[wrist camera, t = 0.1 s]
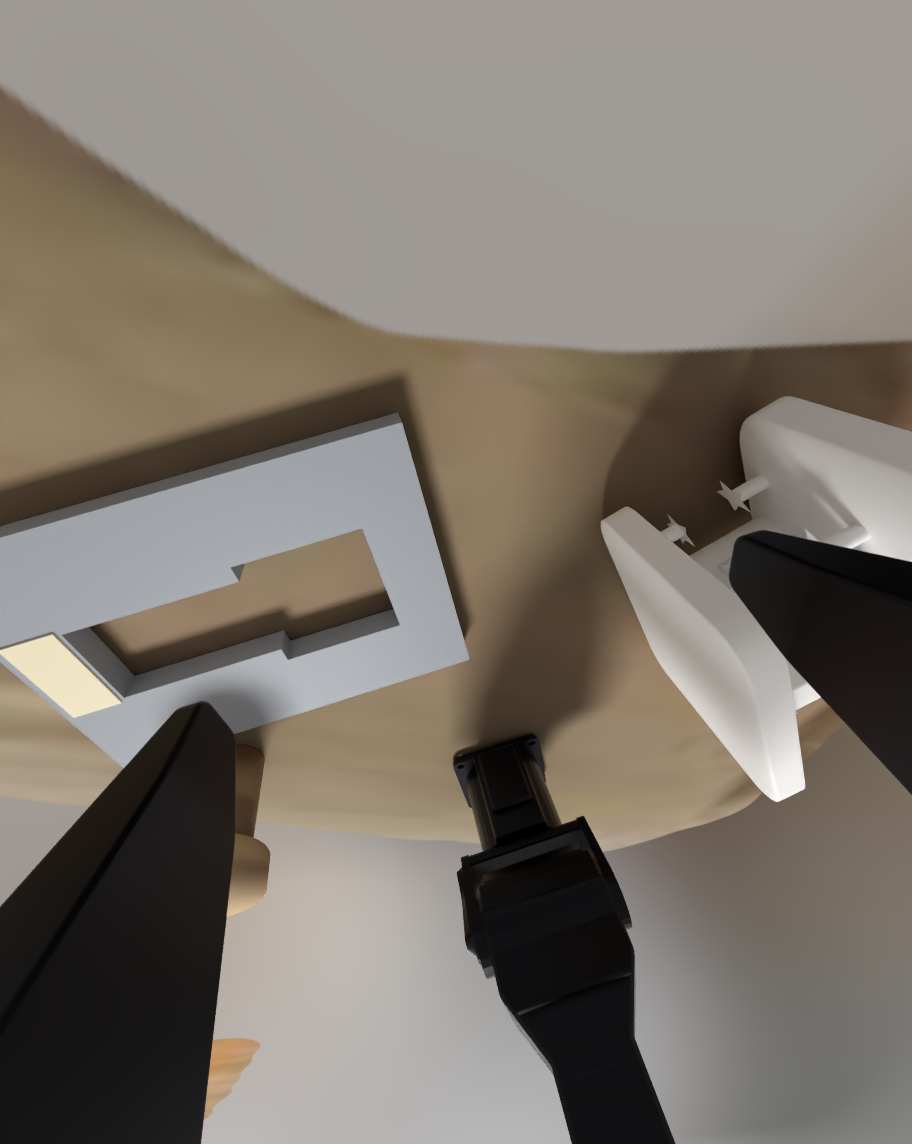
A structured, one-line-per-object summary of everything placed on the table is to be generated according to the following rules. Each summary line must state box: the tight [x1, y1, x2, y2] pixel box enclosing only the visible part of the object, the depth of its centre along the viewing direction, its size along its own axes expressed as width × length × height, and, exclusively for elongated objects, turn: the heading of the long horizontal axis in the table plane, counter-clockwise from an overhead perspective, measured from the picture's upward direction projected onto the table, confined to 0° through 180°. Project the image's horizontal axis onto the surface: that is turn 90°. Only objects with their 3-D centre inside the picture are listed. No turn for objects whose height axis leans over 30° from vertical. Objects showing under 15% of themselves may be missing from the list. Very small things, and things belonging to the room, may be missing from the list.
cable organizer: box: [601, 396, 912, 802], centre depth 23 cm, size 15×11×12 cm
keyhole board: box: [0, 412, 470, 768], centre depth 23 cm, size 20×14×2 cm
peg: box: [227, 744, 270, 917], centre depth 26 cm, size 5×5×8 cm
